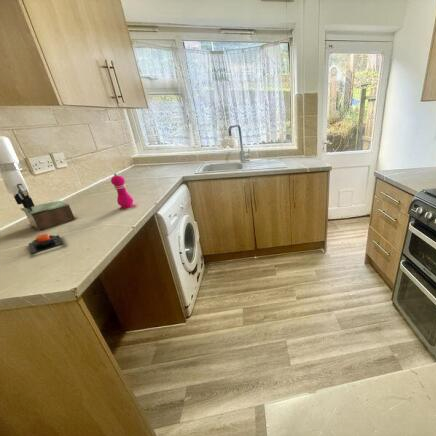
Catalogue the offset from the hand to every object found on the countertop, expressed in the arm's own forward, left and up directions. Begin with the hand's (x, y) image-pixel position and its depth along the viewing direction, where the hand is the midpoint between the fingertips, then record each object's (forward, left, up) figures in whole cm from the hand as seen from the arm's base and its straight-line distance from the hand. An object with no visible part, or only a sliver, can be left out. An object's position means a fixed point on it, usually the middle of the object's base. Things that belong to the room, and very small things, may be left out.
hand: (26, 205), depth 109 cm
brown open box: (+3, +5, -11) cm, 13 cm away
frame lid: (+3, +5, -3) cm, 7 cm away
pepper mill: (+29, +22, -11) cm, 38 cm away
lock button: (+23, -20, -8) cm, 31 cm away
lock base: (+23, -20, -11) cm, 32 cm away
